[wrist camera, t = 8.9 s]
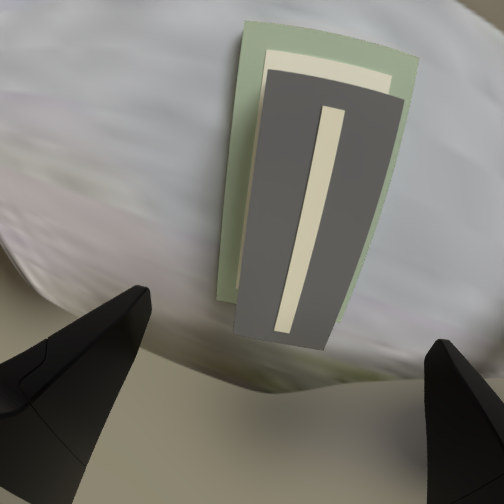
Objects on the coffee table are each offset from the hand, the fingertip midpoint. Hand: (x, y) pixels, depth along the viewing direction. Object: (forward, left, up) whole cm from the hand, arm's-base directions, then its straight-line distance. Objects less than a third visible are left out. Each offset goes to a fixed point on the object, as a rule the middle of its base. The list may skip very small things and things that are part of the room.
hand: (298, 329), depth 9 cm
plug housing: (0, 0, -10) cm, 10 cm away
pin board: (0, 0, -12) cm, 12 cm away
